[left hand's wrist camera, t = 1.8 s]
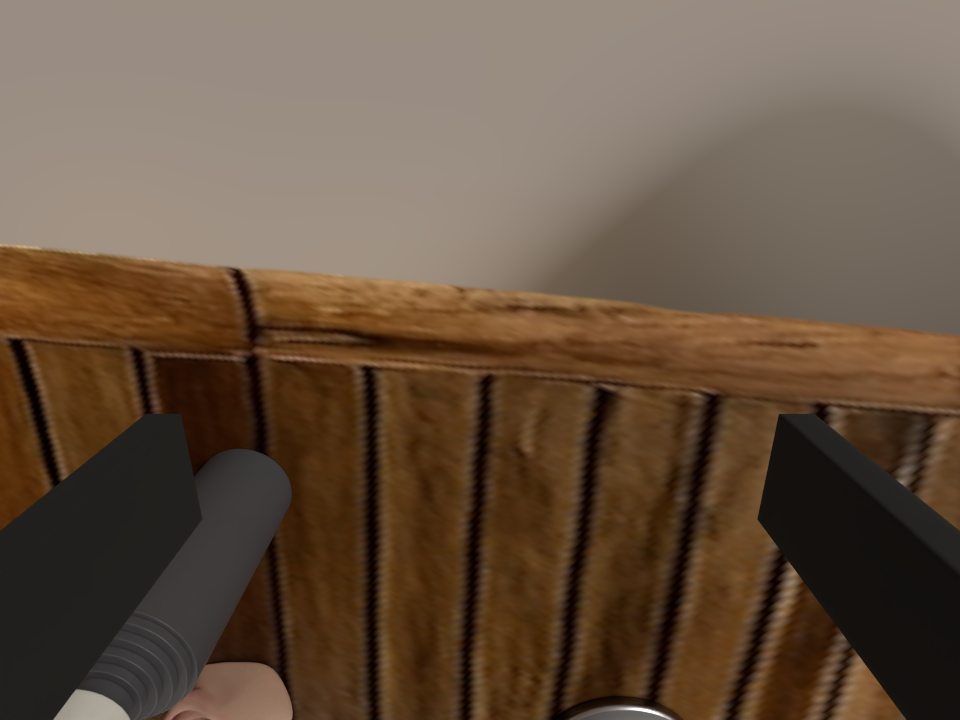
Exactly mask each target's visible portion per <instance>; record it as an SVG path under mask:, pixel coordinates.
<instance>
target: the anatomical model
mask: <svg viewBox="0 0 960 720" xmlns="http://www.w3.org/2000/svg"><path fill="white" fill-rule="evenodd" d="M292 713H293V712H292V704H291V701H290V697H289V695H288V692H287V690H286V688H285V686H284V684H283V682H282V680H281V679H280V677H279V676H278V674H277V673H276V672H275V671H274V670H273V669H272V668H271V667H269V666H267V665H264V664H261V663H253V662H223V663H215V664H208V665H205V666H204V668H203V670H202V672H201V674H200V676H199V678H198V680H197V682H196V683H195V685H194V687H193V689H192V691H191V692H190V693H189V694H188V695H187V696H186V697H185V698H184V699H183V700H181V701H180V702H179V703H177V704H176V705H175V706H174V707H172V708H171V709H169V711H168V712H167V714H166V715H165V717H164V719H163V720H292Z"/></svg>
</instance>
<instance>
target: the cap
mask: <svg viewBox="0 0 960 720" xmlns="http://www.w3.org/2000/svg"><path fill="white" fill-rule="evenodd" d="M54 720H130V718H129V716H128V714H127V713H126V712H125V710H124V709H123V708H122V707H121V706H119V705H118V704H117V703H116V702H114V701H113V700H111V699H109V698H108V697H105V696H104V695H102V694H98V693H95V692H91V691H86V690H79V689H76V690H75V691H74V693H73V694H72V695H71V697H70V698H69V699H68V701H67V702H66V703H65V705H64V706H63V707H62V709H61V710H60V712H59V713H58V714H57V716H56V717H55V718H54Z"/></svg>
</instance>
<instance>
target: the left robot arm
mask: <svg viewBox="0 0 960 720" xmlns="http://www.w3.org/2000/svg"><path fill="white" fill-rule="evenodd" d="M201 521H202V515H201V510H200V505H199V500H198V495H197V490H196V485H195V480H194V475H193V471H192V466H191V461H190V456H189V451H188V446H187V441H186V436H185V431H184V427H183V422H182V417H181V414H145V415H144V416H143V417H142V418H140V419H139V420H138V421H137V422H135V423H134V424H133V425H132V426H130V427H129V428H128V429H127V430H125V431H124V432H123V433H122V434H120V435H119V436H118V437H117V438H116V439H114V440H113V441H112V442H111V443H109V444H108V445H107V446H106V447H104V448H103V449H102V450H101V451H99V452H98V453H97V454H96V455H94V456H93V457H92V458H91V459H89V460H88V461H87V462H86V463H84V464H83V465H82V466H81V467H79V468H78V469H77V470H76V471H74V472H73V473H72V474H71V475H69V476H68V477H67V478H66V479H64V480H63V481H62V482H61V483H59V484H58V485H57V486H56V487H54V488H53V489H52V490H51V491H49V492H48V493H47V494H46V495H44V496H43V497H42V498H41V499H39V500H38V501H37V502H36V503H34V504H33V505H32V506H31V507H30V508H28V509H27V510H26V511H25V512H23V513H22V514H21V515H20V516H18V517H17V518H16V519H15V520H13V521H12V522H11V523H10V524H8V525H7V526H6V527H5V528H3V529H2V530H1V531H0V720H54V718H55V717H56V716H57V714H58V713H59V712H60V710H61V709H62V707H63V706H64V705H65V703H66V702H67V701H68V699H69V698H70V697H71V695H72V694H73V693H74V691H75V690H76V689H77V687H78V686H79V685H80V683H81V682H82V681H83V679H84V678H85V677H86V675H87V674H88V673H89V671H90V670H91V668H92V667H93V666H94V664H95V663H96V662H97V660H98V659H99V658H100V656H101V655H102V654H103V652H104V651H105V650H106V648H107V647H108V646H109V644H110V643H111V642H112V640H113V639H114V638H115V636H116V635H117V634H118V632H119V631H120V629H121V628H122V627H123V625H124V624H125V623H126V621H127V620H128V619H129V617H130V616H131V615H132V613H133V612H134V611H135V609H136V608H137V607H138V605H139V604H140V603H141V601H142V600H143V599H144V597H145V596H146V595H147V593H148V592H149V591H150V589H151V588H152V586H153V585H154V584H155V582H156V581H157V580H158V578H159V577H160V576H161V574H162V573H163V572H164V570H165V569H166V568H167V566H168V565H169V564H170V562H171V561H172V560H173V558H174V557H175V556H176V554H177V553H178V552H179V550H180V549H181V547H182V546H183V545H184V543H185V542H186V541H187V539H188V538H189V537H190V535H191V534H192V533H193V531H194V530H195V529H196V527H197V526H198V525H199V523H200V522H201ZM758 521H759V522H760V523H761V525H762V526H763V527H764V529H765V530H766V531H767V533H768V534H769V535H770V537H771V538H772V539H773V541H774V542H775V543H776V545H777V546H778V547H779V549H780V550H781V552H782V553H783V554H784V556H785V557H786V558H787V560H788V561H789V562H790V564H791V565H792V566H793V568H794V569H795V570H796V572H797V573H798V574H799V576H800V577H801V578H802V580H803V581H804V582H805V584H806V585H807V586H808V588H809V589H810V591H811V592H812V593H813V595H814V596H815V597H816V599H817V600H818V601H819V603H820V604H821V605H822V607H823V608H824V609H825V611H826V612H827V613H828V615H829V616H830V617H831V619H832V620H833V621H834V623H835V624H836V625H837V627H838V628H839V629H840V631H841V632H842V634H843V635H844V636H845V638H846V639H847V640H848V642H849V643H850V644H851V646H852V647H853V648H854V650H855V651H856V652H857V654H858V655H859V656H860V658H861V659H862V660H863V662H864V663H865V664H866V666H867V667H868V668H869V670H870V671H871V673H872V674H873V675H874V677H875V678H876V679H877V681H878V682H879V683H880V685H881V686H882V687H883V689H884V690H885V691H886V693H887V694H888V695H889V697H890V698H891V699H892V701H893V702H894V703H895V705H896V706H897V707H898V709H899V710H900V712H901V713H902V714H903V716H904V717H905V718H906V720H960V531H959V530H958V529H957V528H955V527H954V526H953V525H952V524H950V523H949V522H948V521H947V520H945V519H944V518H943V517H942V516H940V515H939V514H938V513H937V512H935V511H934V510H933V509H932V508H930V507H929V506H928V505H927V504H926V503H924V502H923V501H922V500H921V499H919V498H918V497H917V496H916V495H914V494H913V493H912V492H911V491H909V490H908V489H907V488H906V487H904V486H903V485H902V484H901V483H899V482H898V481H897V480H896V479H894V478H893V477H892V476H891V475H889V474H888V473H887V472H886V471H884V470H883V469H882V468H881V467H879V466H878V465H877V464H876V463H874V462H873V461H872V460H871V459H869V458H868V457H867V456H866V455H864V454H863V453H862V452H861V451H859V450H858V449H857V448H856V447H854V446H853V445H852V444H851V443H849V442H848V441H847V440H846V439H844V438H843V437H842V436H841V435H840V434H838V433H837V432H836V431H835V430H833V429H832V428H831V427H830V426H828V425H827V424H826V423H825V422H823V421H822V420H821V419H820V418H818V417H817V416H816V415H815V414H779V417H778V422H777V427H776V431H775V436H774V441H773V446H772V451H771V456H770V461H769V466H768V471H767V475H766V480H765V485H764V490H763V495H762V500H761V505H760V510H759V515H758ZM556 720H683V719H682V718H681V717H680V716H679V715H677V714H676V713H675V712H674V711H672V710H671V709H669V708H667V707H665V706H663V705H661V704H659V703H656V702H653V701H649V700H646V699H641V698H633V697H611V698H604V699H598V700H594V701H590V702H587V703H584V704H582V705H579V706H577V707H575V708H573V709H571V710H569V711H568V712H566V713H564V714H563V715H561V716H560V717H559V718H558V719H556Z"/></svg>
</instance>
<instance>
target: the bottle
mask: <svg viewBox="0 0 960 720" xmlns="http://www.w3.org/2000/svg"><path fill="white" fill-rule="evenodd" d="M194 480H195V485H196V490H197V495H198V500H199V505H200V510H201V515H202V521H201V522H200V523H199V525H198V526H197V527H196V529H195V530H194V531H193V533H192V534H191V535H190V537H189V538H188V539H187V541H186V542H185V543H184V545H183V546H182V547H181V549H180V550H179V552H178V553H177V554H176V556H175V557H174V558H173V560H172V561H171V562H170V564H169V565H168V566H167V568H166V569H165V570H164V572H163V573H162V574H161V576H160V577H159V578H158V580H157V581H156V582H155V584H154V585H153V586H152V588H151V589H150V591H149V592H148V593H147V595H146V596H145V597H144V599H143V600H142V601H141V603H140V604H139V605H138V607H137V608H136V609H135V611H134V612H133V613H132V615H131V616H130V617H129V619H128V620H127V621H126V623H125V624H124V625H123V627H122V628H121V629H120V631H119V632H118V634H117V635H116V636H115V638H114V639H113V640H112V642H111V643H110V644H109V646H108V647H107V648H106V650H105V651H104V652H103V654H102V655H101V656H100V658H99V659H98V660H97V662H96V663H95V664H94V666H93V667H92V668H91V670H90V671H89V673H88V674H87V675H86V677H85V678H84V679H83V681H82V682H81V683H80V685H79V686H78V687H77V689H79V690H86V691H91V692H95V693H98V694H102V695H104V696H105V697H108V698H109V699H111V700H113V701H114V702H116V703H117V704H118V705H119V706H121V707H122V708H123V709H124V710H125V712H126V713H127V714H128V716H129V718H130V720H142V719H146V718H149V717H152V716H155V715H158V714H161V713H163V712H166V711H168V710H169V709H171V708H172V707H174V706H175V705H176V704H177V703H179V702H180V701H181V700H183V699H184V698H185V697H186V696H187V695H188V694H189V693H190V692H191V691H192V689H193V687H194V685H195V683H196V682H197V680H198V678H199V676H200V674H201V672H202V670H203V668H204V666H205V665H206V663H207V661H208V659H209V657H210V655H211V653H212V651H213V649H214V648H215V646H216V644H217V642H218V640H219V638H220V636H221V634H222V632H223V631H224V629H225V627H226V625H227V623H228V621H229V619H230V617H231V615H232V614H233V612H234V610H235V608H236V606H237V604H238V602H239V600H240V598H241V597H242V595H243V593H244V591H245V589H246V587H247V585H248V583H249V581H250V580H251V578H252V576H253V574H254V572H255V570H256V568H257V566H258V564H259V563H260V561H261V559H262V557H263V555H264V553H265V551H266V549H267V547H268V546H269V544H270V542H271V540H272V538H273V536H274V534H275V532H276V530H277V529H278V527H279V525H280V523H281V521H282V519H283V517H284V515H285V513H286V512H287V510H288V508H289V506H290V503H291V498H292V490H291V485H290V481H289V479H288V477H287V475H286V473H285V472H284V470H283V469H282V468H281V467H280V466H279V465H278V464H277V463H276V462H275V461H273V460H272V459H271V458H269V457H267V456H266V455H264V454H261V453H259V452H256V451H252V450H248V449H231V450H226V451H223V452H220V453H218V454H216V455H214V456H213V457H212V458H210V459H209V460H208V461H207V462H206V463H205V465H204V466H203V467H202V468H201V469H200V470H199V471H198V473H197V474H196V475H195V476H194Z"/></svg>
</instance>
